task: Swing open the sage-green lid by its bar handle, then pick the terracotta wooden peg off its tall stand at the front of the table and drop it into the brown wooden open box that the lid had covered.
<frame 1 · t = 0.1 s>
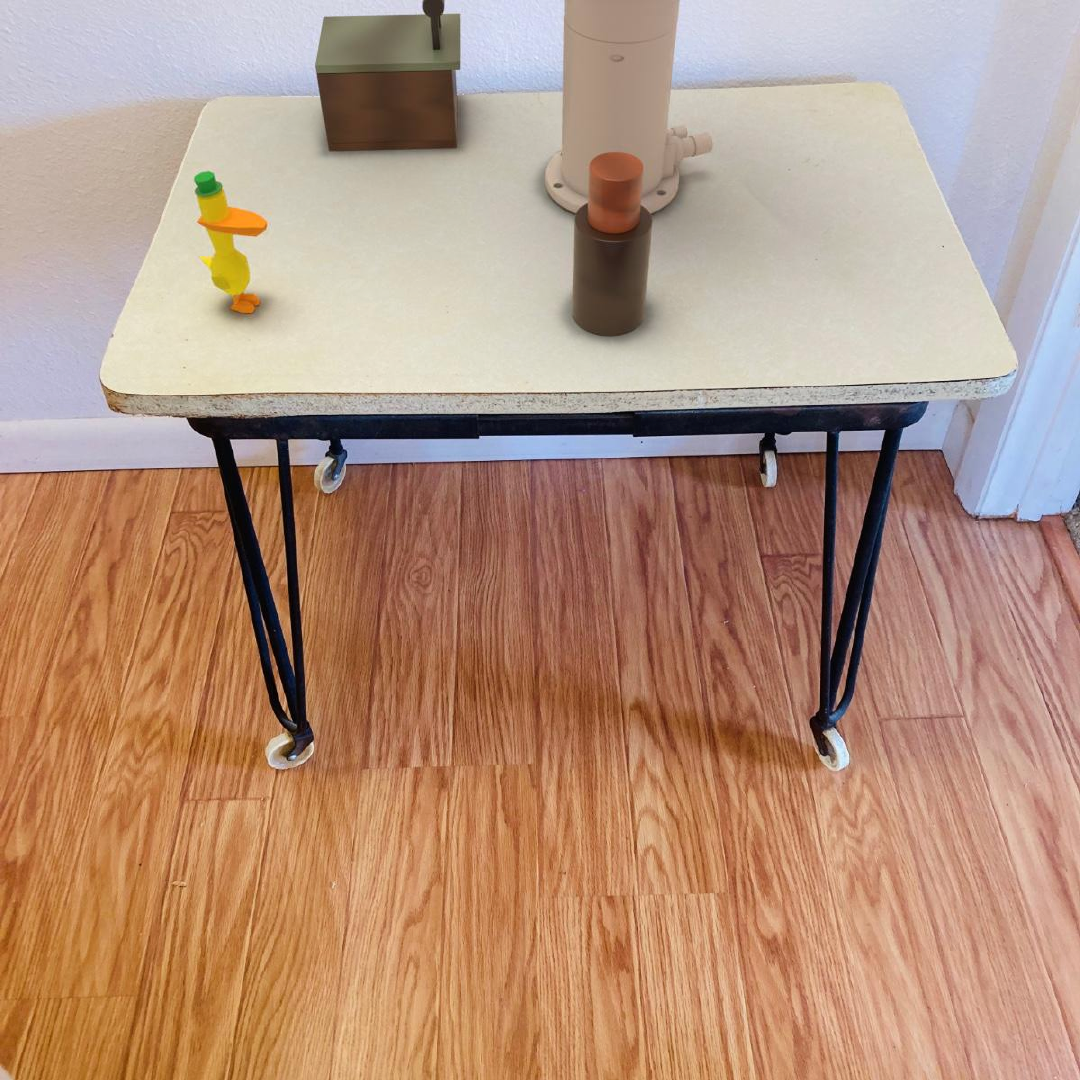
brown wooden open box: (395, 123, 110), on the table
peg: (613, 218, 83), point 9 cm above the table, touching peg stand
sorter lid: (387, 16, 102), point 11 cm above the table, hinge at 0.0°
toy figure: (248, 308, 91), on the table
peg stand: (608, 313, 90), on the table
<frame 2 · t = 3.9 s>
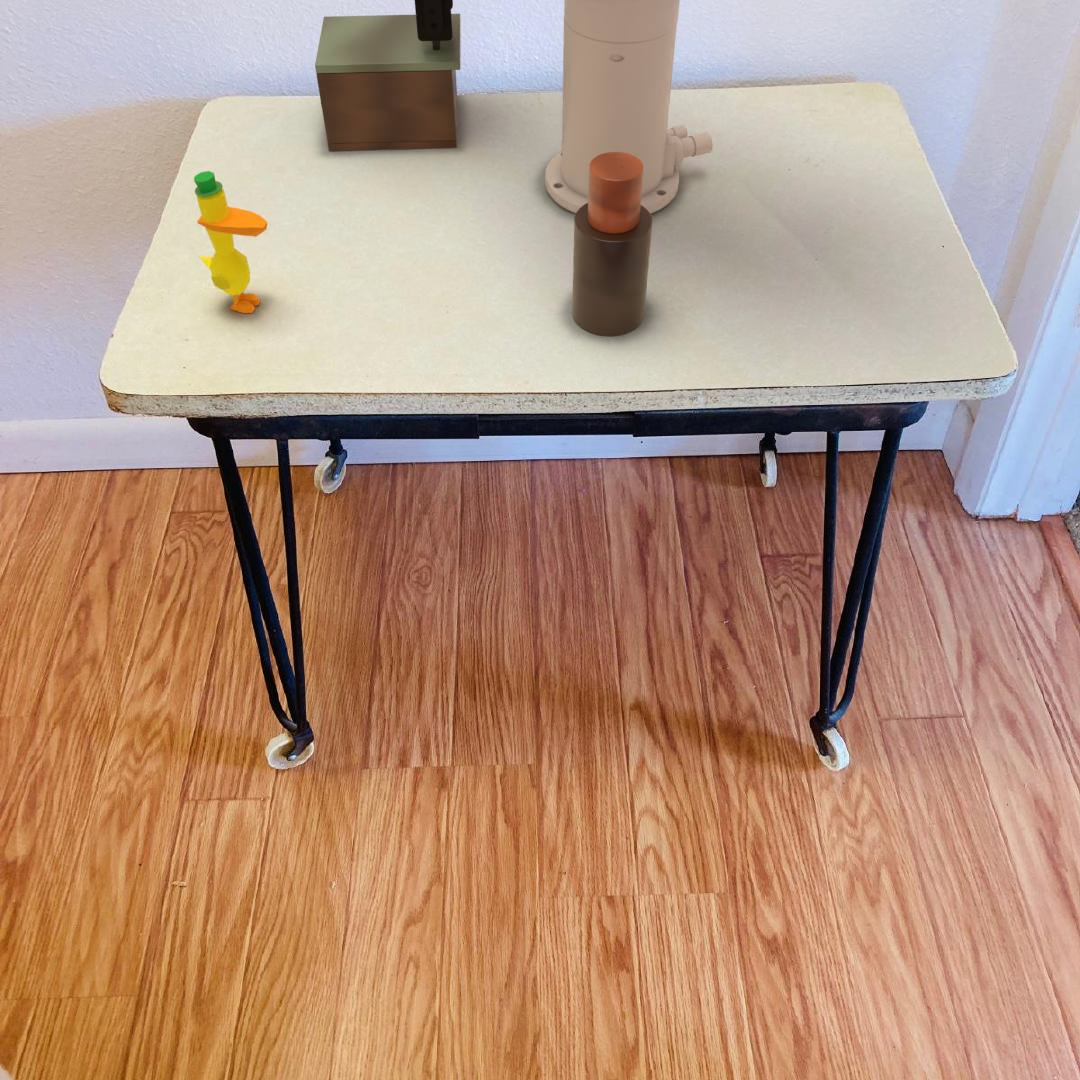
hand: (435, 21, 103), 10 cm above the table, tool pointing down, fingers closed on sorter lid, 5 cm apart
sorter lid: (387, 16, 102), point 11 cm above the table, hinge at 0.0°, touching gripper
everything else where it was.
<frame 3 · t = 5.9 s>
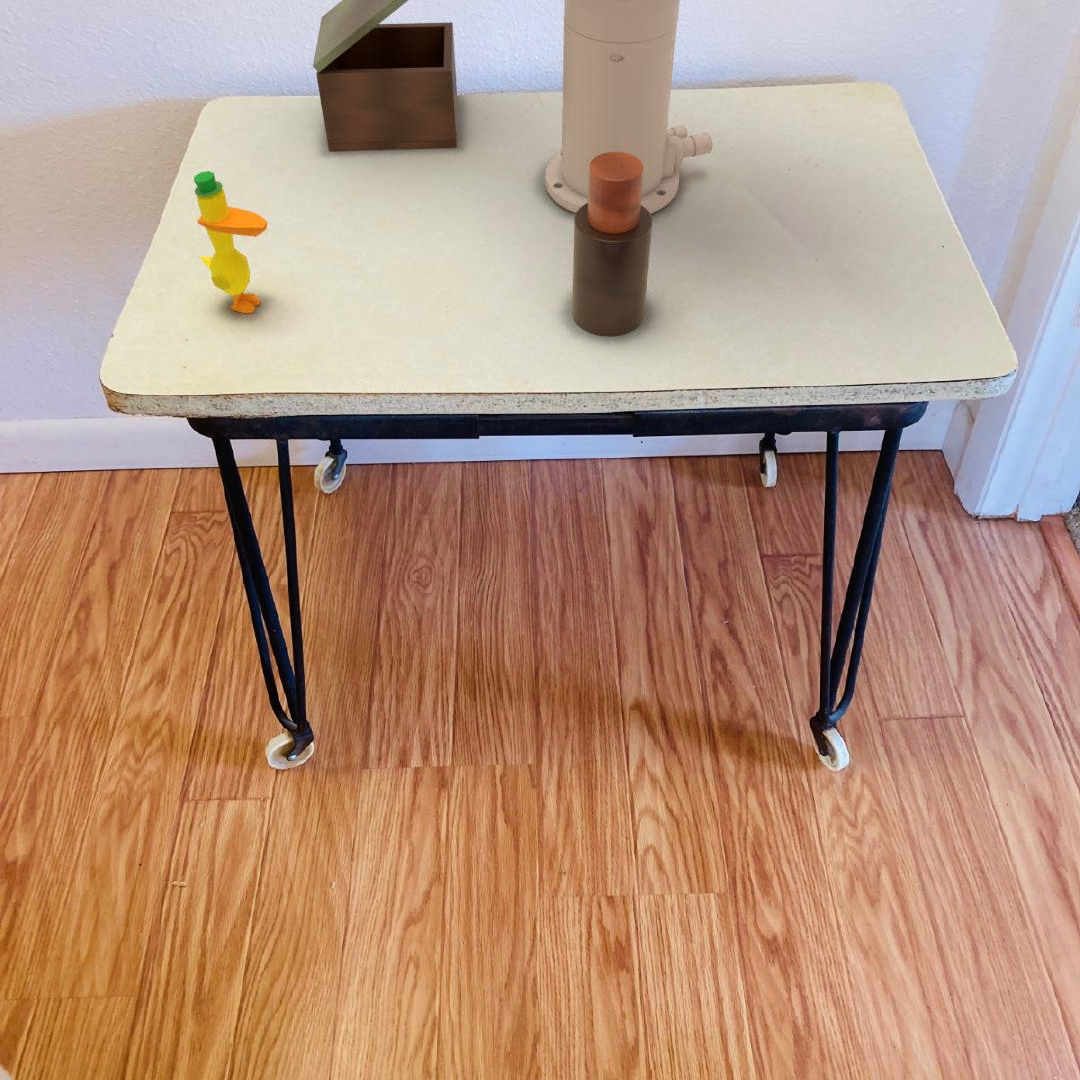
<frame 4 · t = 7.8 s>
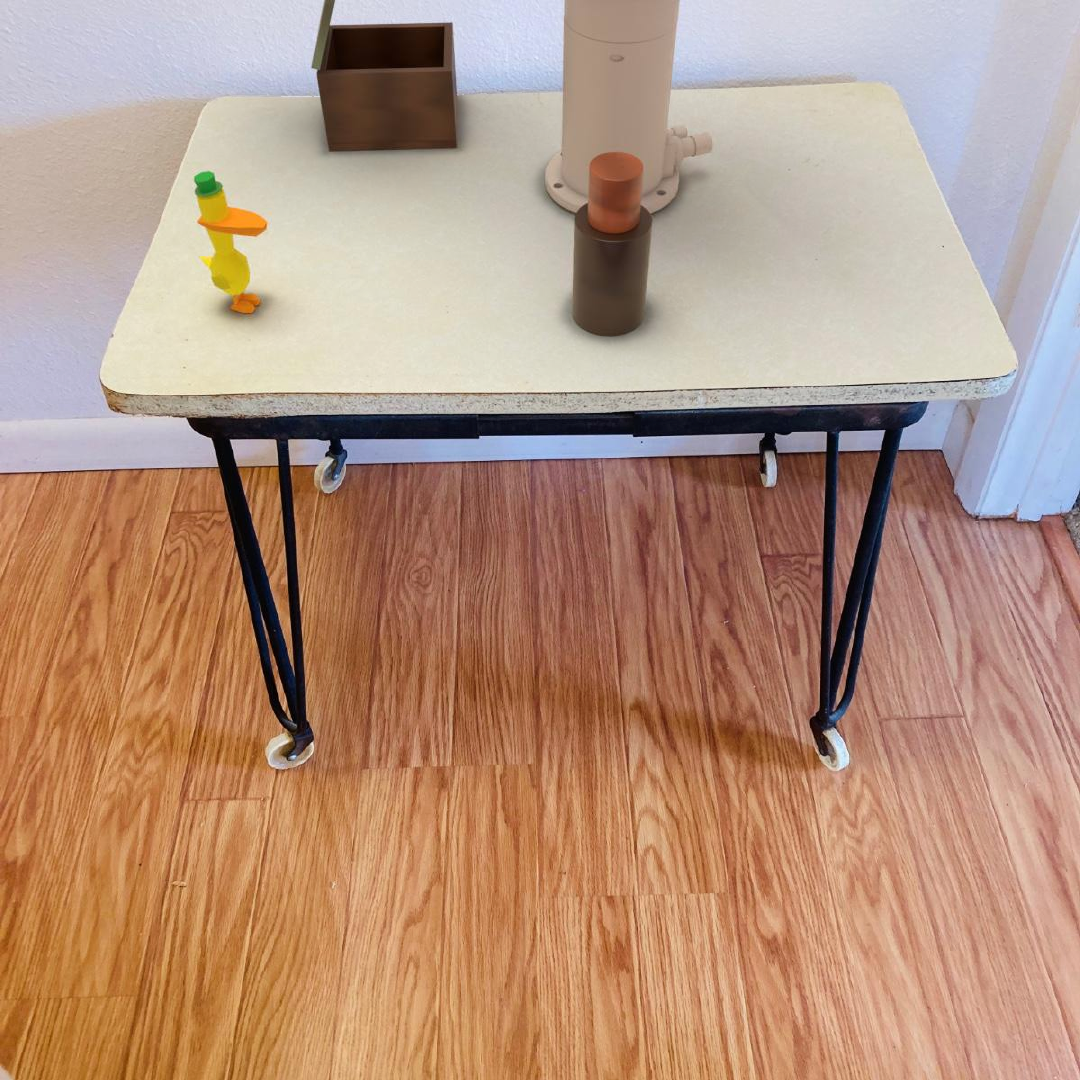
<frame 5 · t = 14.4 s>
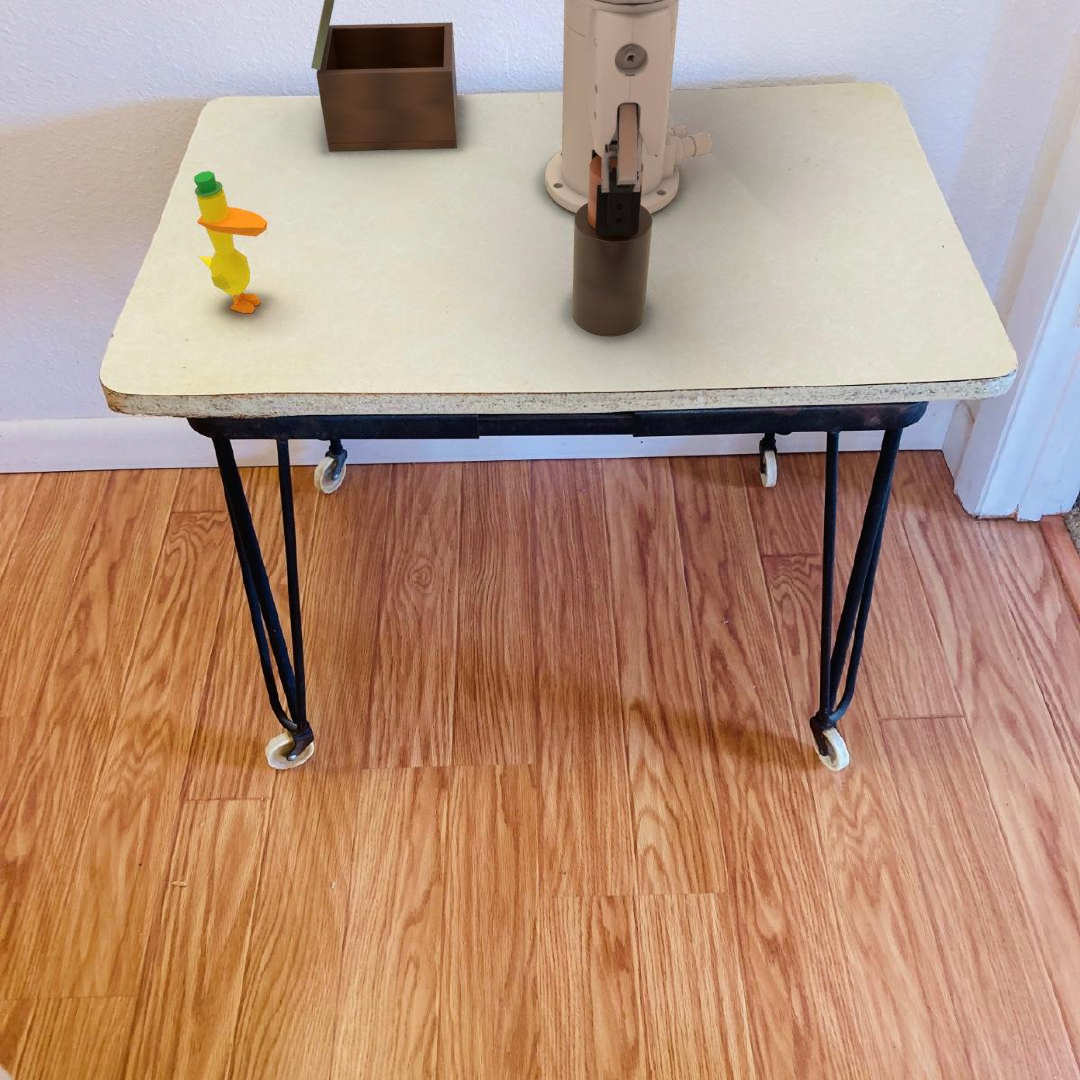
hand: (613, 213, 83), 10 cm above the table, tool pointing down, fingers closed on peg, 4 cm apart
peg: (613, 218, 83), point 9 cm above the table, touching gripper, peg stand
when the fingers open (8 cm above the table, at t = 22.8 s): peg drops 7 cm, resting on brown wooden open box.
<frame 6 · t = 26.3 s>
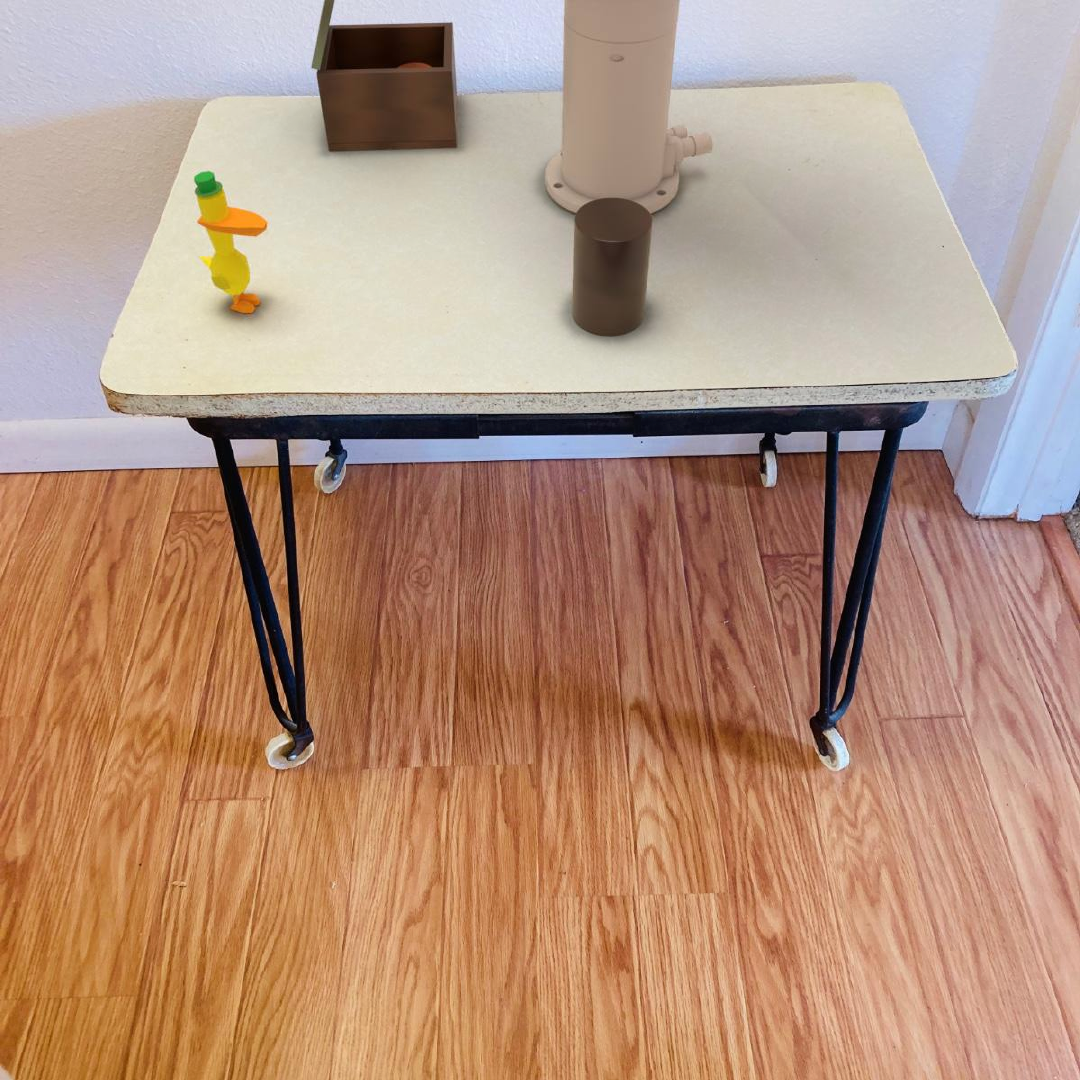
peg: (418, 115, 110), point 1 cm above the table, touching brown wooden open box
at the end: sorter lid at +70° (first picture: +0°); peg inside the target area in the brown wooden open box (2.4 cm from its centre), point 0.8 cm above the brown wooden open box's base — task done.
